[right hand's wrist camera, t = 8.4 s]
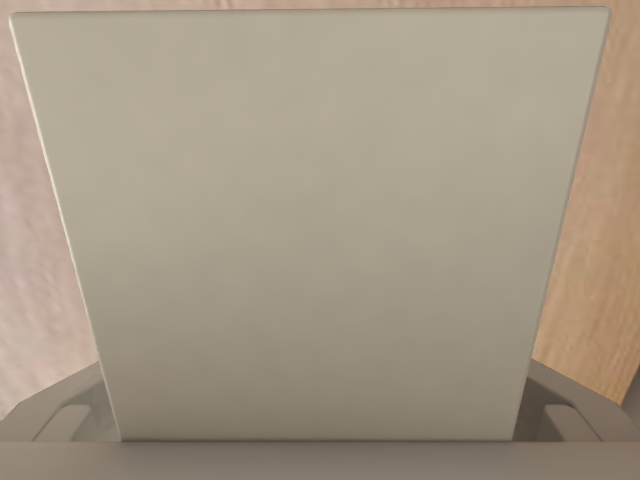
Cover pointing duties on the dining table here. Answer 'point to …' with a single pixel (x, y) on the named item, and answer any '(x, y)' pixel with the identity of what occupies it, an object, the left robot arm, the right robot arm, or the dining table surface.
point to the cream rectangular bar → (313, 209)
